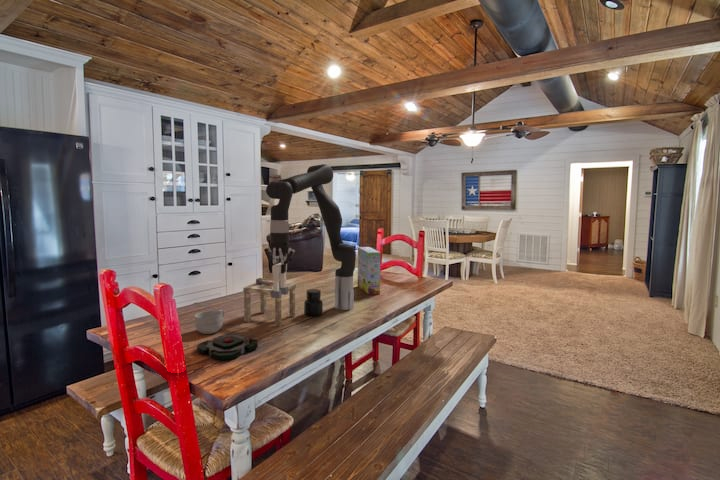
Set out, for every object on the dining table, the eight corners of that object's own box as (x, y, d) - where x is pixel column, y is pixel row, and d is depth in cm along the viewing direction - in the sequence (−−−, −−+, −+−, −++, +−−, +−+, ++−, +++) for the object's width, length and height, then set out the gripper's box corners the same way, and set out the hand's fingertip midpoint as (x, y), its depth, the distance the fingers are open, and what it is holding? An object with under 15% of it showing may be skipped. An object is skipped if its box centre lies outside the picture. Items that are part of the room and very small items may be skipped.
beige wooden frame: (295, 316, 184) (295, 278, 181) (279, 326, 168) (279, 285, 166) (262, 311, 189) (262, 274, 187) (243, 321, 174) (243, 281, 171)
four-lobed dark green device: (192, 352, 141) (191, 340, 140) (231, 337, 156) (231, 326, 155) (224, 365, 131) (224, 352, 131) (263, 347, 147) (263, 336, 146)
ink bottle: (315, 310, 193) (315, 287, 192) (326, 314, 187) (327, 291, 185) (299, 314, 186) (299, 290, 185) (310, 319, 180) (311, 294, 179)
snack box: (356, 286, 245) (357, 246, 242) (368, 285, 248) (370, 246, 245) (366, 295, 225) (368, 252, 222) (380, 294, 227) (382, 251, 224)
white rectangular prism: (280, 292, 163) (280, 262, 161) (288, 293, 162) (288, 262, 160) (271, 297, 155) (270, 265, 154) (278, 298, 154) (278, 266, 153)
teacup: (206, 338, 153) (205, 319, 152) (189, 332, 159) (189, 314, 158) (234, 328, 165) (234, 310, 164) (217, 323, 171) (217, 306, 170)
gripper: (299, 231, 157) (299, 272, 159) (269, 229, 161) (269, 269, 163) (290, 232, 150) (290, 276, 152) (259, 231, 154) (259, 273, 156)
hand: (279, 272), depth 157 cm, fingers closed on white rectangular prism, 2 cm apart
